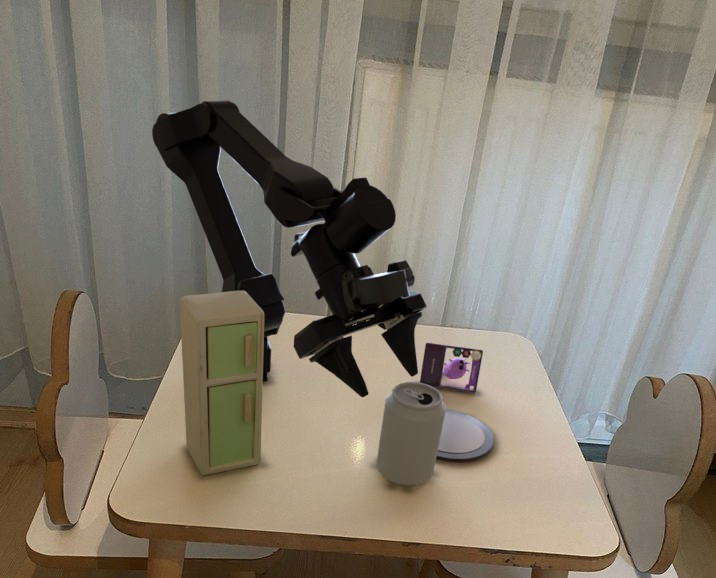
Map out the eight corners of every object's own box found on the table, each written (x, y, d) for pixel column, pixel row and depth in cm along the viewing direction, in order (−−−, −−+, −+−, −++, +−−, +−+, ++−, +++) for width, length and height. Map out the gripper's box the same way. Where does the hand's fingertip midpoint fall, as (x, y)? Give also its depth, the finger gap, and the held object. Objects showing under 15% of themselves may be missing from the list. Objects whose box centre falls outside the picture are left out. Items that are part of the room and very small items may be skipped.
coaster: (414, 463, 95) (415, 459, 94) (393, 412, 105) (393, 408, 105) (505, 461, 98) (506, 457, 97) (476, 411, 108) (477, 408, 108)
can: (428, 495, 89) (445, 414, 83) (370, 483, 90) (382, 401, 83) (435, 462, 96) (451, 384, 89) (380, 451, 96) (392, 373, 89)
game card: (426, 343, 110) (483, 350, 110) (424, 339, 115) (479, 347, 115) (419, 385, 112) (476, 393, 112) (418, 380, 117) (472, 388, 117)
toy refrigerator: (201, 480, 87) (198, 321, 75) (184, 448, 92) (178, 294, 80) (263, 468, 90) (268, 314, 78) (243, 437, 96) (245, 289, 84)
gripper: (316, 252, 76) (378, 384, 77) (427, 227, 88) (480, 342, 88) (267, 297, 85) (323, 415, 85) (374, 269, 97) (423, 373, 97)
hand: (391, 385), depth 89 cm, fingers open, 9 cm apart
